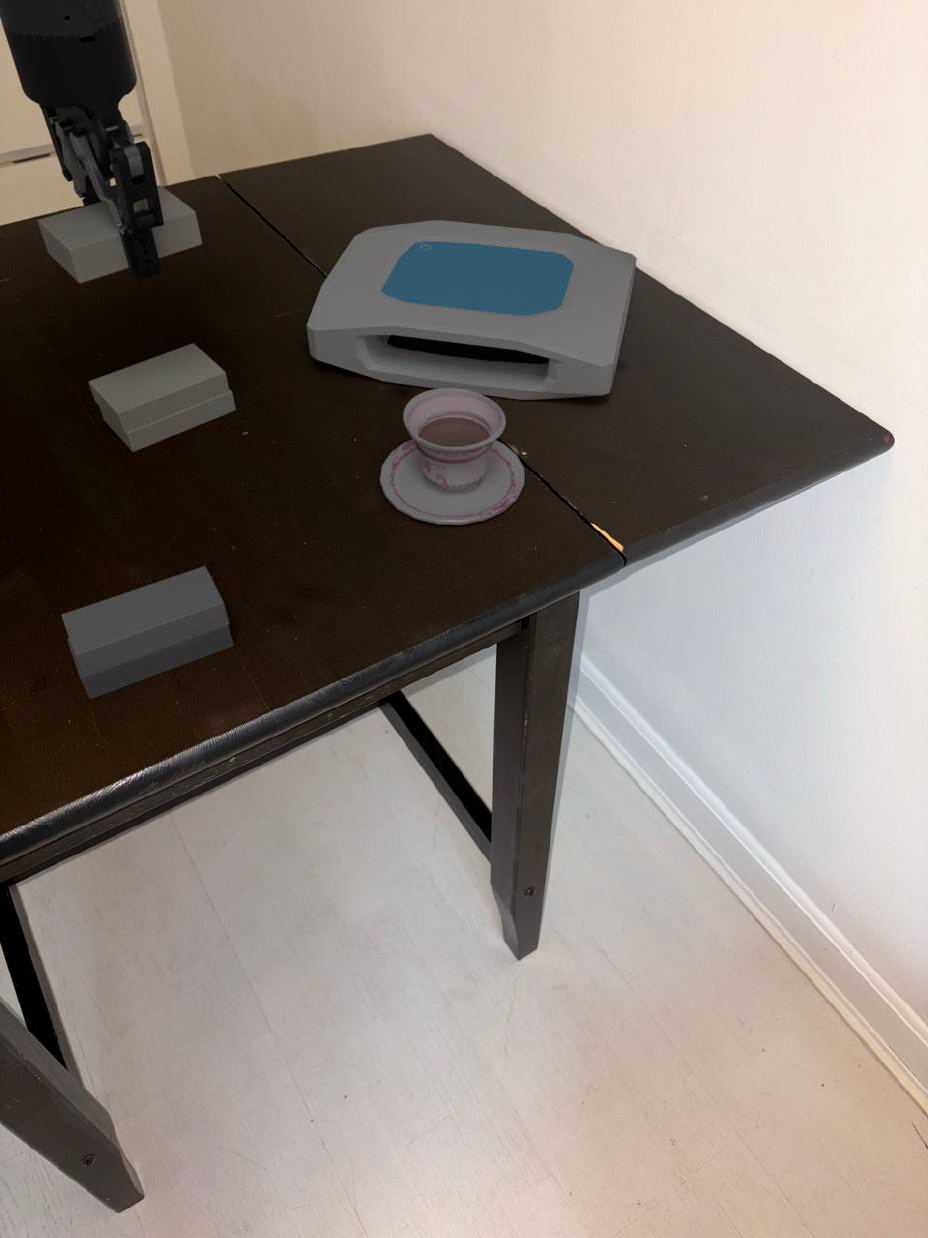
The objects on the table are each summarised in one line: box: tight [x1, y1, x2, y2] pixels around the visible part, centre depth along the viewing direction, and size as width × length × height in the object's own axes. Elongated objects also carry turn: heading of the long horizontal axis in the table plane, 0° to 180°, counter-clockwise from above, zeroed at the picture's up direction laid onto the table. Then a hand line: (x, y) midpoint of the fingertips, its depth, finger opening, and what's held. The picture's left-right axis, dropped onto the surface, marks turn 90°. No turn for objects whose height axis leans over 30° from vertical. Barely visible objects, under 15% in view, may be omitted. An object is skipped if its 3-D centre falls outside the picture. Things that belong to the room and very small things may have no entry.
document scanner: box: [306, 219, 638, 401], centre depth 92 cm, size 21×28×6 cm
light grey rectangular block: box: [37, 184, 203, 284], centre depth 72 cm, size 10×6×3 cm, turn 128°
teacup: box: [379, 388, 525, 526], centre depth 77 cm, size 12×12×6 cm
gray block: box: [61, 565, 235, 700], centre depth 64 cm, size 10×4×4 cm, turn 118°
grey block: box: [88, 342, 237, 453], centre depth 84 cm, size 10×6×4 cm, turn 128°
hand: (128, 258), depth 74 cm, fingers closed on light grey rectangular block, 6 cm apart
